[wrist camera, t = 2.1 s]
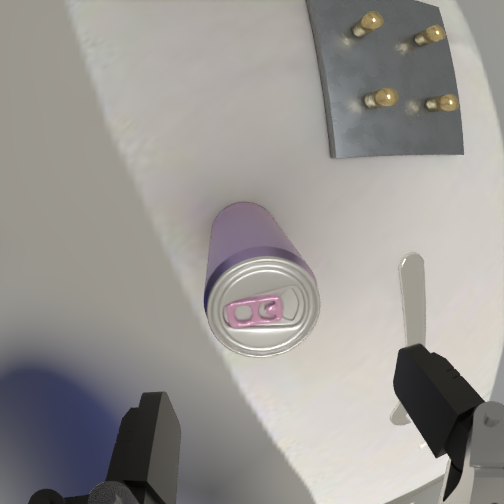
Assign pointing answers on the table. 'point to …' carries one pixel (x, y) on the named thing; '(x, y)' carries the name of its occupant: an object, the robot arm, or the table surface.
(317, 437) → the table surface
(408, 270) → the wrench
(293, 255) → the beverage can
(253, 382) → the table surface
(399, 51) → the chassis plate
